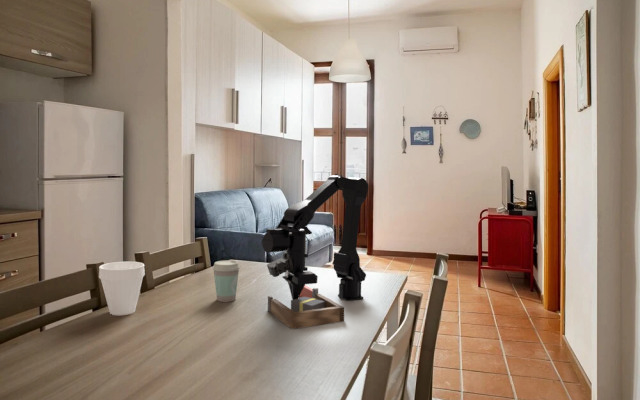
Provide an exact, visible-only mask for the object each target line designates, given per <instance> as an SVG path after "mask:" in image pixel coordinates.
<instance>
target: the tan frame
mask: <svg viewBox="0 0 640 400" xmlns="http://www.w3.org/2000/svg"><path fill="white" fill-rule="evenodd" d="M315 299H317V300H321V301H325V308H321V309H314V310H306V311H298V312H294V311H292V310H291V307H288V306H287V305H285V304H284V303H282V302H281V301H279V300H278V299H277V298H273V296H272V295H267V311H268V312H269V313H270V314H271V315H272V316H274V317H275V318H277V319H278V320H279V321H280V322H282V323H283V324H284V325H286V326H287V327H289V329H291V330H293V329H301V328H308V327H315V326H321V325H322V326H323V325H327V324H328V325H329V324H334V323H336V324H337V323H343V322H345V306H342V305H341V304H339V303H337V302H335V301H334V300H332V299H330V298H328V297H326V296H325V295H323V294H321V293H318V294H315Z"/></svg>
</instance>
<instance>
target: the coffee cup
mask: <svg viewBox="0 0 640 400" xmlns="http://www.w3.org/2000/svg"><path fill="white" fill-rule="evenodd" d="M240 267H241V266H240V264H239V261H237V260H229V259H227V260H226V259H225V260H218V261H215V262H214V264H213V266H212V270H213V274H214V275H213V276H214V284H215V285H214V286H215V294H216V300H217V301H218V302H221V303H223V302H224V303H228V302H233V301H235V300H236V298H237V289H238V282H239V281H238V280H239V271H240Z"/></svg>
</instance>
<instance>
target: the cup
mask: <svg viewBox="0 0 640 400" xmlns="http://www.w3.org/2000/svg"><path fill="white" fill-rule="evenodd" d="M98 271H99V272H98V278H99V279H100V282H101V285H102V288H103V289H102V290H103V292H104V296H105V299H106V304H107V308H108V311H109V314H110V315H111V314H112V315H111V316H127V315H132V314H134V313H135V312H136V309H137V308H136V307H137V304H138V300H139V296H140V293H141V287H142V282H143V278H144V277H145V275H146V273H145V272H146V271H145V263H144V262H139V261H128V260H127V261H116V262H115V261H114V262H113V261H112V262H108V263H104V264H101V265H99V267H98Z"/></svg>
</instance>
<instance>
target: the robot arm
mask: <svg viewBox="0 0 640 400" xmlns="http://www.w3.org/2000/svg"><path fill="white" fill-rule="evenodd" d="M338 191H342V198H343V201H344V202H345V203H344V204H345V208H344V209H345V210H344V218H343V226H342V234H341V236H342V237H341V246H340V248H339V250H338V251H337V252H334V253H333V260H332V265H333V270H334V271H335V274H336V278H338V279H339V280H340V283H339V284H338V294H337V296H338V297H339V298H341V299H343V300H345V301H354V300H356V301H357V300H361V299H362V300H363V299H364V296H362V282H364V281H365V279H366V277H367V274H366V272H365V271H364V270H363V268H362V267H361V265H360V264H361V263H360V262H361V261H360V260H361V259H360V256H359V254H358V251H357V244H358V238H359V237H358V235H359V226H360V215H361V207H362V205H363V203H364V202H365V200H367V196H368V191H369V183H368V182H367V180H366V179H365V178H363V177H344V176H342V175H330V176H328V178H327V179H326V180H325V181H324V182H323V183H322V184H321V185H319V187H318V188H316V189H315V190H314V191H313V192H312V193H311V194H310V195H308V196H307V197H306V198H305V199H304V200H302V201H298V202H297V203H294V204H293V205H290V206H289V207H287V209H286V210H285V211H284V212H283V216H282V219H281V220H280V221H279V223H278V225H277V226H276V227H275V228H266V232H265V233H264V234H263V237H262V239H261V245H262V248H263V250H264V252H266V253H267V254H269V253H279V252H283V253H282V257H280V258H277V259H275V260H273V261H271V262H269V263H267V264H266V266H267V270H268V272H269V275H270V276H272V277H273V278H276V277H279V276H280V275H282V274H284V275H283V276H282V279H284V281H286V282H287V284H288V287H289V292H290V294H291V295H290V296H291V300H294V299H297V298H300V294H301V292H302V290H303V288H304V286H305V285H313V284H317V283H318V277H319V276H318V275H317V274H316V273H315V272H313V271H311V270H308V267H307V266H306V258H308V257H309V253H308V252H306V247H307V246H306V245H307V244H306V241H307V239H306V238H307V235H312V233H313V232H312V231H311V230H310V228H308V226H309V224H310V222H312V220H313V219H314V217H315V213H316V212H317V210H318V209H320V208H321V207H322V206H323V205H324V204H325V203H326V202H327V201H328V200H329V199H330V198H331V197H333V196H334V195H335V194H336V193H337V192H338Z"/></svg>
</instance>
